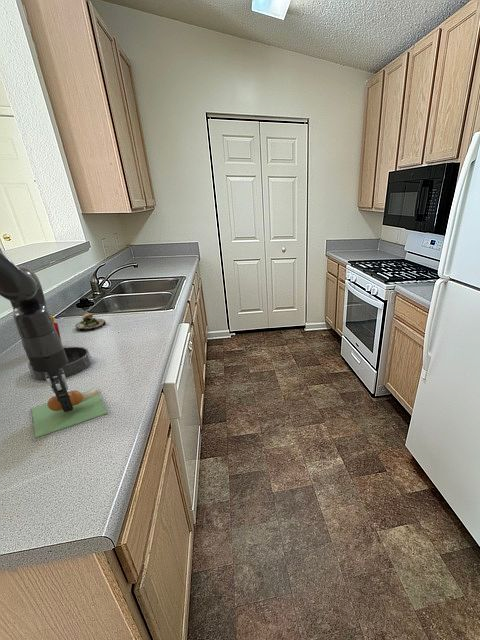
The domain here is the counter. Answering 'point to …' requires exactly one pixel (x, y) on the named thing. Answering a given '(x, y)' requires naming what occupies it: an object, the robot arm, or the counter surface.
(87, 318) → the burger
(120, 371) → the counter surface
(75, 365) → the pan
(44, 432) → the napkin
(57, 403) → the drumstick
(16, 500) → the counter surface
